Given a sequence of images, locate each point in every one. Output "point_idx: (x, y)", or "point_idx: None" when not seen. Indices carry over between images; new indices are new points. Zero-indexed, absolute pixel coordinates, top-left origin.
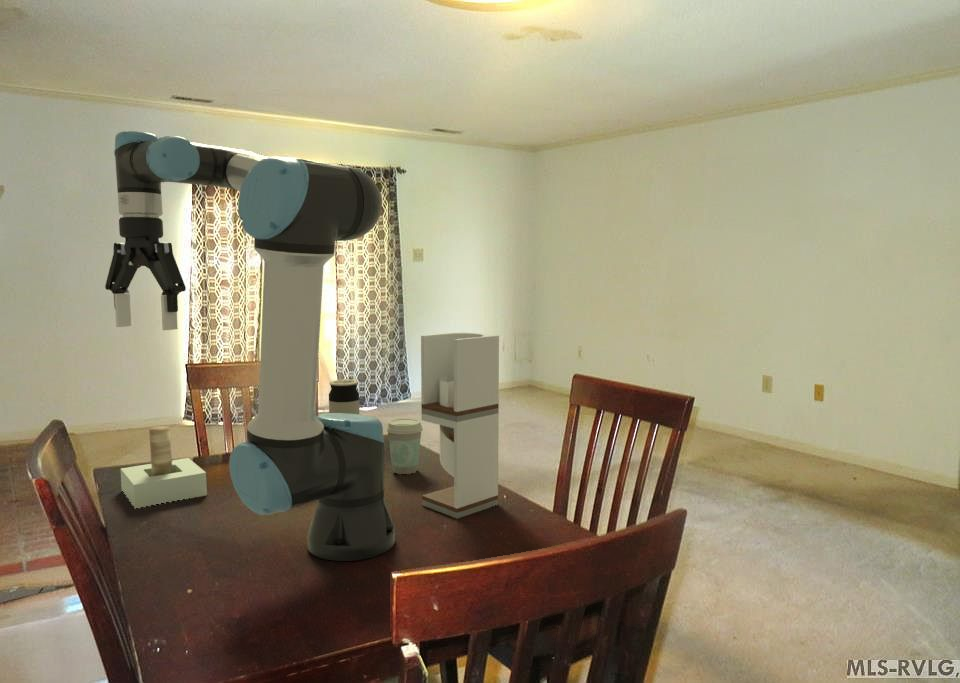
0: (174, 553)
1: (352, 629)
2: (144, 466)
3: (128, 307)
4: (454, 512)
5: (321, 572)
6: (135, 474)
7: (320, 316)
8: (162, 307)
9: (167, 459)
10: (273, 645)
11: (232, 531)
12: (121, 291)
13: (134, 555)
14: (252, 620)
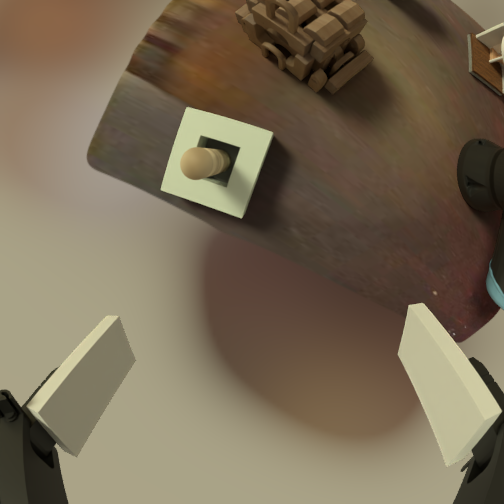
0: (384, 262)
1: None
2: (176, 166)
3: (80, 372)
4: (500, 93)
5: (486, 226)
6: (200, 192)
7: None
8: (434, 419)
9: (222, 160)
10: (493, 300)
11: (392, 200)
12: (40, 436)
13: (358, 282)
14: (478, 292)
